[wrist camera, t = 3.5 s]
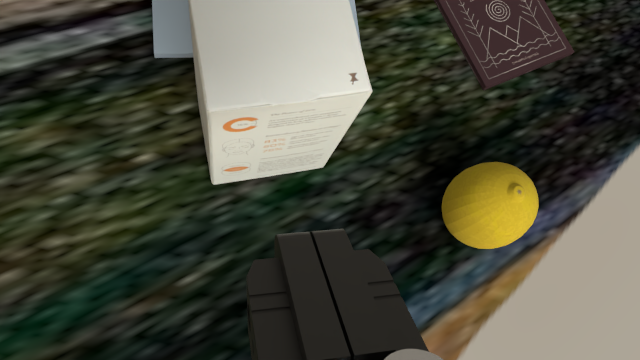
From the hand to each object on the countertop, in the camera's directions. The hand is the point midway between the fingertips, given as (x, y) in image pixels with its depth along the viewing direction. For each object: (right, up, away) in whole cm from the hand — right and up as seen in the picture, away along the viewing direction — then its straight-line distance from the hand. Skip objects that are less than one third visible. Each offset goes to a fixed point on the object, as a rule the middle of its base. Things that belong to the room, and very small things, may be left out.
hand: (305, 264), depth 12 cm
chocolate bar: (+13, +18, +34) cm, 41 cm away
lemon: (+11, -1, +27) cm, 29 cm away
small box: (-4, +5, +26) cm, 27 cm away
